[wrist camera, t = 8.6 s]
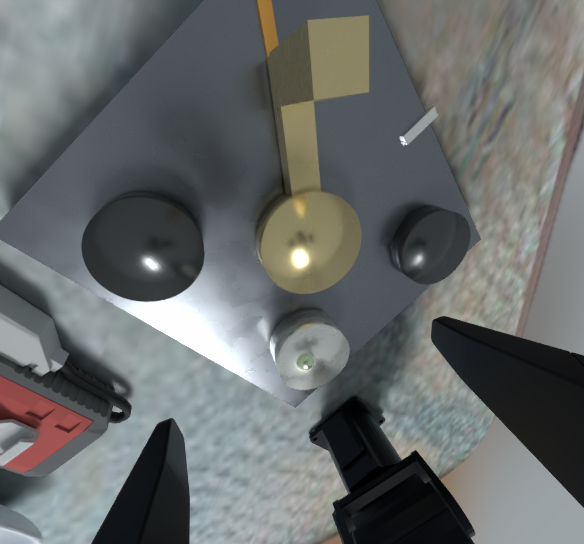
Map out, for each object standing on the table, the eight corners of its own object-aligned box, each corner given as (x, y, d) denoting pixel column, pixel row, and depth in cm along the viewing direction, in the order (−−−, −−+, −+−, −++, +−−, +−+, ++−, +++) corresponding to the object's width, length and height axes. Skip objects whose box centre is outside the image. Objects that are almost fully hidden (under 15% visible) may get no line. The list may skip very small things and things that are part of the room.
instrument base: (464, 227, 25) (523, 248, 20) (288, 389, 26) (308, 440, 22) (310, -104, 13) (372, -214, 9) (11, 220, 15) (-59, 259, 10)
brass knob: (350, 268, 20) (403, 313, 15) (265, 293, 19) (293, 351, 14) (342, 50, 14) (424, 11, 9) (218, 62, 13) (239, 24, 8)
